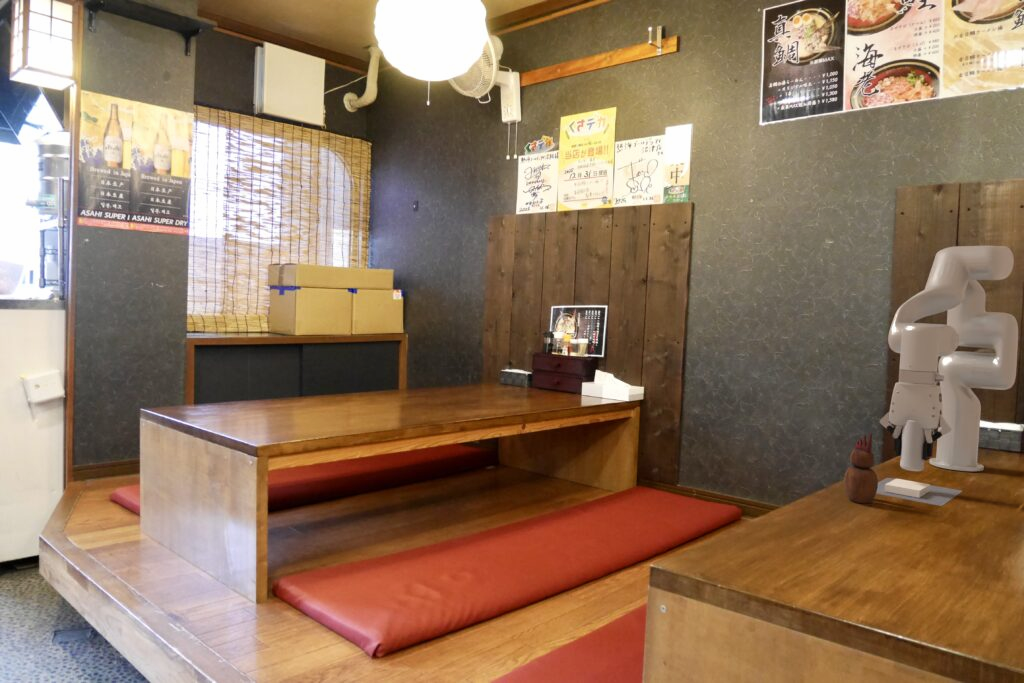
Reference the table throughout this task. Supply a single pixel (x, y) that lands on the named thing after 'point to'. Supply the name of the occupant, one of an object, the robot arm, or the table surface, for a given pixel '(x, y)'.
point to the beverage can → (912, 447)
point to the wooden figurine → (861, 473)
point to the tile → (907, 488)
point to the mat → (932, 497)
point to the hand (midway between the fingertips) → (912, 456)
